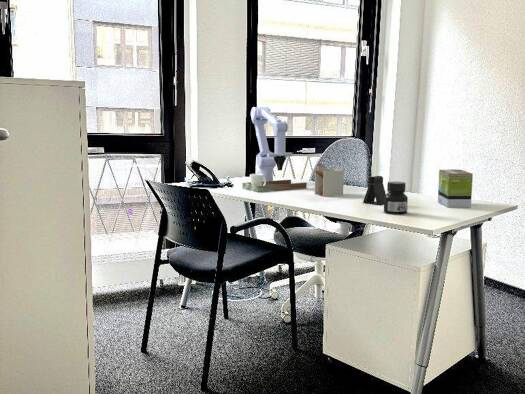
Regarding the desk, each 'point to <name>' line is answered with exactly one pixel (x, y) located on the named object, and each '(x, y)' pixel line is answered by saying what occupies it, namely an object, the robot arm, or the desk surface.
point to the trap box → (274, 186)
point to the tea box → (455, 188)
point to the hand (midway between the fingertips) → (279, 170)
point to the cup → (257, 179)
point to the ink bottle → (395, 198)
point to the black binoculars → (375, 191)
